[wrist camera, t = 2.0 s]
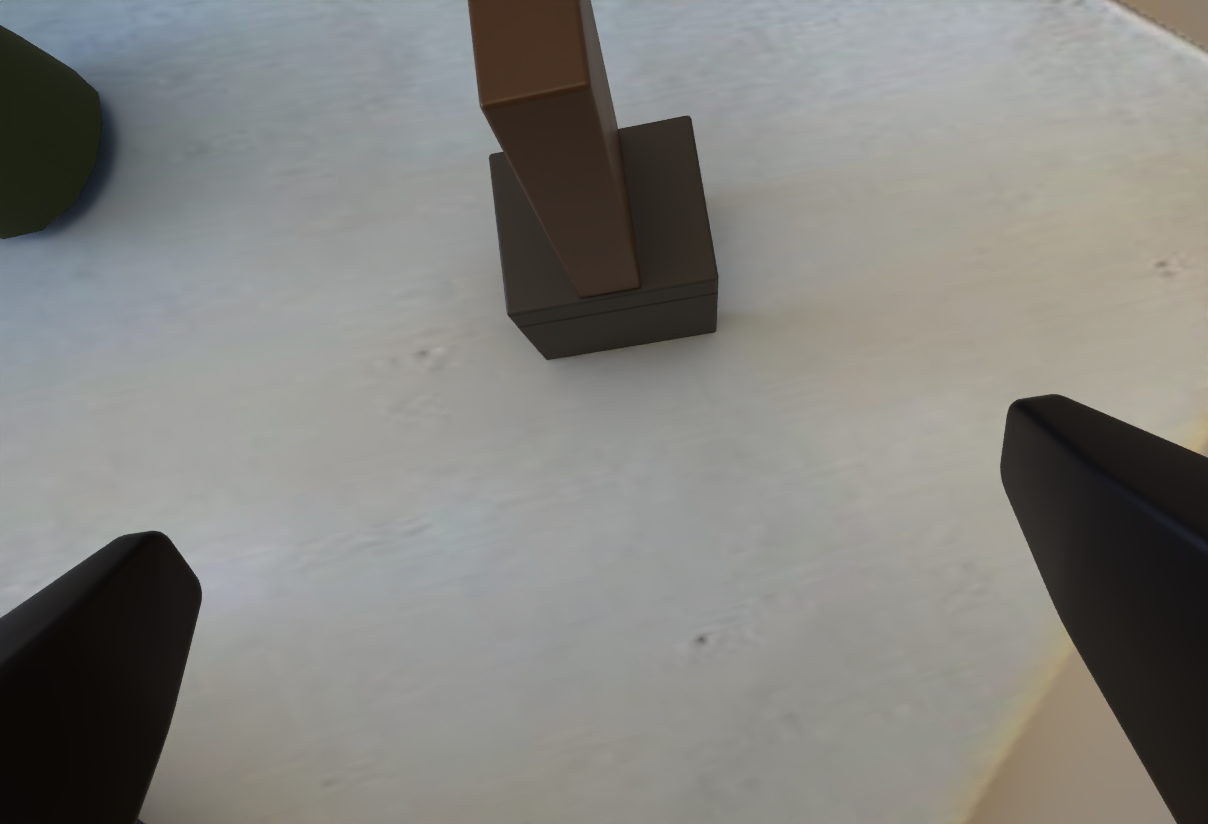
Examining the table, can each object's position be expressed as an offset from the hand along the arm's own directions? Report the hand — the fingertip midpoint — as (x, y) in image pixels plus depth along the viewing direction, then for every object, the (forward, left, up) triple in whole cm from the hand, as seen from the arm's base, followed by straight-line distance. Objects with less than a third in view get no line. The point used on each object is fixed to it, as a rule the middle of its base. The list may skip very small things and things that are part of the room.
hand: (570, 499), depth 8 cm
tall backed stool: (+6, -4, -13) cm, 15 cm away
